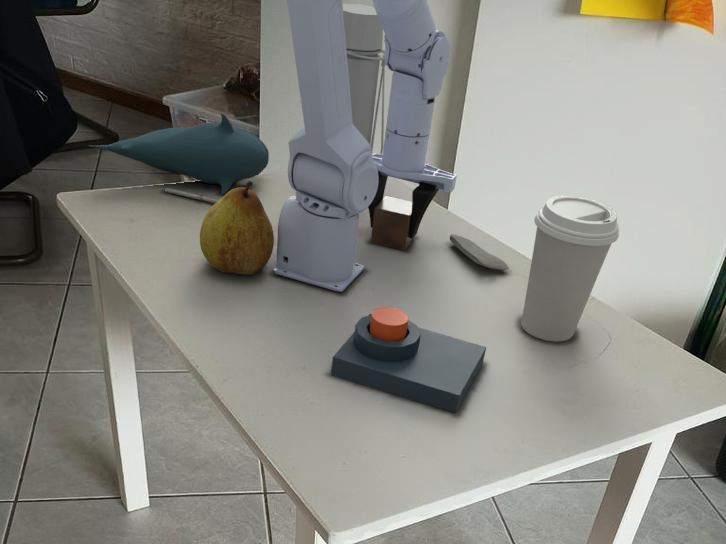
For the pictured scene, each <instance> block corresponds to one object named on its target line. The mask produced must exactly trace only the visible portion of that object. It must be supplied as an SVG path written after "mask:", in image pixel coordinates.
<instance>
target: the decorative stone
mask: <svg viewBox="0 0 726 544" xmlns="http://www.w3.org/2000/svg"><path fill="white" fill-rule="evenodd" d="M449 241H450V242H451V243H452V244H453V245H454V246H455V247H456V248H457V249H458V250H459V251H460V252H461V253H463V255H465V256H466V257H467V258H468V259H470V260H472V261H473V262H474V263H476V264H478V265H480V266H481V267H485V268H487V269H491V270H500V271H505V270H506V271H507V270H509V269H510V266H509V265H508V264H507V263H506V262H505V261H504V260H502V259H501V258H499V257H497V256H496V255H494V254H492V253H489V252H488V251H487V250H485V249H483V248H482V247H480V246H479V245H478V244H476V243H475V242H473V241H472V240H470V239H469V238H466V237H463V236H461V235H457V234H450V235H449Z"/></svg>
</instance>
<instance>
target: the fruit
mask: <svg viewBox="0 0 726 544" xmlns="http://www.w3.org/2000/svg"><path fill="white" fill-rule="evenodd" d="M252 186H253V181H251V180H249V181H247V183H245V187H243V186H241V187H235V188H232V189H230V190H228V191H227V192H226V193H225V194H223V196H222V197H221V199H220V200H219V201H218V202H216V203H215V202H214V204H212V206H211V207H210V208H209V209H208V211H206V213H205V215H204V218H203V220H202V222H201V226H200V230H199V246H200V250H201V252H202V254H203V257H204V258H205V260H206V261H207V262H208V263H209V264H210V265H211V266H212V267H213V268H214V269H216V270H218V271H220V272H223V273H226V274H234V275H235V274H237V275H247V276H248V275H255V274H257V273H259V272H260V271H262V269H264V267H265V266H266V265H267V263H268V262H269V261H270V259H271V257H272V254H273V251H274V246H275V235H274V230H273V226H272V223H271V221H270V218H269V216H268V215H267V213H266V210H265V209H264V205H263V203H262V201H261V198H259V196H258V195H257V193H256V192H254V191H253V190H252V189H251V187H252Z"/></svg>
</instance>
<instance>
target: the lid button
mask: <svg viewBox="0 0 726 544" xmlns="http://www.w3.org/2000/svg"><path fill="white" fill-rule="evenodd" d="M370 314H371V321H370V329H369V332H370V334H371V335H373V336H374V337H376V338H379V339H382V340H386V341H399V340H402V339H404V338H405V337H406V333H407V327H408V321H410V320H409V319H410V318H409V315H408V313H406V312H405V311H404V310H402V309H399V308H397V307H392V306H381V307H376V308H374V309H373V310H372V312H371V313H370Z"/></svg>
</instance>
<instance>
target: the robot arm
mask: <svg viewBox="0 0 726 544" xmlns="http://www.w3.org/2000/svg"><path fill="white" fill-rule="evenodd" d="M286 3H287V9H288V17H289V24H290V32H291V38H292V45H293V52H294V53H293V54H294V60H295V67H296V75H297V81H298V88H299V89H298V90H299V97H300V103H301V111H302V118H303V126H301V127H300V128H299V129H298V130H296V131H295V132H294V134H293V135H292V136H291V137H290V139H289V141H288V149H289V150H288V151H289V159H288V164H287V178H288V183H289V185H290V187H291V189H293V191H295V192H296V193H295V195H290V196H288V197H287V198H286V200H285V201H284V203H283V205H282V207H281V209H280V212H279V217H278V223H277V239H276V240H277V242H276V263H275V265H276V266H275V268H273V274H275V275H279V276H282V277H284V278H290V279H293V280H296V281H299V282H303V283H306V284H310V285H315V286H317V287H320V288H324V289H328V290H331V291H335V292H338V293H341V292H343V291H345V289H347V288H348V286H350V285H351V283H352V282H353V281H354V280H355V279H356V278H357V277H358V276H359V275H360V274H361V273H362V272H363V271H364V269H365V266H364V265H363V264H359V263H357V262H355V258H356V257H355V256H356V247H357V238H358V231H359V230H358V229H359V221H360V220H359V219H360V214H361V213H363V212H365V211H366V210H367V208H368V214H369V224H370V229H372V227H373V218H374V210H375V207H376V206H377V205H378V203H379V202H380V201H381V200H382V199H383V198H384V196H385V191H386V186H387V181H388V178H389V177H390V178H393V179H398V180H401V181H406V182H410V183H414V184H418V186H416V187H415V188H414V189H413V190H412V193H411V202H412V214H411V220H410V229H409V238H413V239H414V238H415V237H416V236H417V234H418V231H419V228H420V226H421V222H422V220H423V218H424V215H425V213H426V212H427V210H428V208H429V205H430V204H431V202H432V201H433V200H434V197H436V196H437V194H438V192H439V190H442V191H443V193H446V194H452V192H453V191H454V190H455V188H456V182H457V179H458V174H456V173H451V172H448V171H446V170H443V169H440V168H438V167H436V166H433V165H431V164H428V163H426V160H427V154H428V147H429V140H430V134H431V130H432V129H431V128H432V122H433V115H434V110H435V104H436V103H435V102H436V97H439V95H440V92H441V91H442V86H443V81H444V79H445V76H446V74H447V72H448V69H449V67H450V64H451V61H452V54H451V52H452V50H451V48H452V47H451V42H450V40H449V39H448V38H447V36H446V34H445V33H444V32H443V31H441V30H438V29H437V27H436V24H435V21H434V18H433V15H432V11H431V9H430V6H429V2H428V0H372V4H373V7H374V8H375V10H376V13H377V15H378V18H379V20H380V23H381V25H382V28H383V33H384V36H383V37H384V38H383V42H384V45H385V46H384V47H385V48H384V51H385V64H386V65H385V66H387V68H388V70H389V71H391V72H392V76H391V85H390V92H389V100H388V108H387V115H386V116H387V117H386V126H385V131H384V133H385V134H384V141H383V152H382V154H380V153H376V152H374V153H373V151H372V152H371V143H370V144H369V143H368V142H367V140H366V139H365V138H364V137H363V136H362V134H361V133H360V132H359V131H358V130H357V129H356V127H355V126H354V124H353V120H352V109H351V97H350V86H349V74H348V63H347V51H346V40H345V28H344V17H343V5H342V4H343V0H286Z"/></svg>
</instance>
